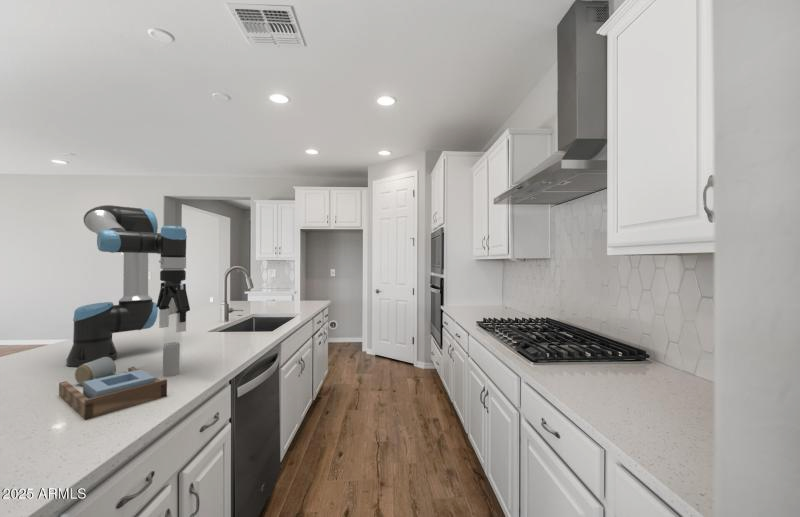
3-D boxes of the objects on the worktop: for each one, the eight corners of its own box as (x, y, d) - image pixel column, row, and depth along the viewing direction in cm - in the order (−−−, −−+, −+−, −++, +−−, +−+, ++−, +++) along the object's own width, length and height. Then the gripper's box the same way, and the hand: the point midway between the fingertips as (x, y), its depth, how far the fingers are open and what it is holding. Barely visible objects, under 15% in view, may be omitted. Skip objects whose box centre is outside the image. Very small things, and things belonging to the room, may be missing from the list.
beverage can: (161, 381, 113) (162, 346, 113) (163, 376, 118) (164, 343, 118) (178, 378, 116) (178, 344, 116) (179, 374, 120) (180, 341, 120)
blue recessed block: (82, 403, 93) (83, 381, 93) (138, 388, 103) (139, 369, 103) (96, 414, 86) (97, 391, 86) (154, 397, 97) (155, 377, 97)
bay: (58, 399, 97) (59, 379, 98) (133, 381, 112) (133, 364, 112) (85, 424, 83) (85, 400, 83) (166, 400, 98) (167, 380, 98)
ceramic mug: (72, 385, 108) (73, 362, 108) (99, 377, 116) (99, 355, 116) (98, 389, 106) (99, 365, 106) (124, 380, 114) (124, 358, 114)
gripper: (146, 269, 121) (145, 327, 120) (177, 270, 107) (176, 335, 107) (169, 269, 127) (168, 324, 127) (201, 270, 113) (200, 331, 113)
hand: (172, 329), depth 117 cm, fingers open, 13 cm apart
